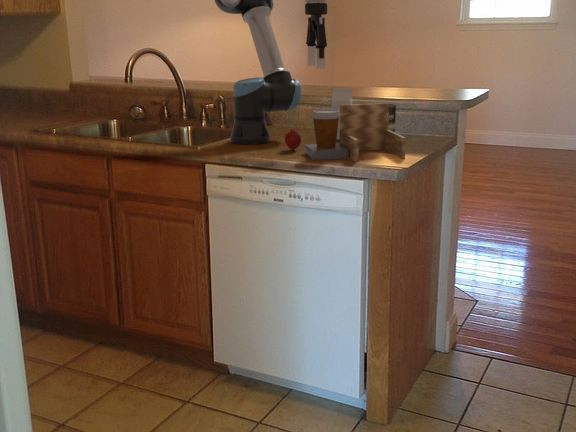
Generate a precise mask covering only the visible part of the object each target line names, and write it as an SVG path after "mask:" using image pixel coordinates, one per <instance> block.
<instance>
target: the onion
mask: <svg viewBox="0 0 576 432" xmlns="http://www.w3.org/2000/svg"><path fill="white" fill-rule="evenodd" d="M301 137H302V136H301V135H300V133H299V132H298V131H297V130H296V129H295V127H291V128H290V130H289V131H287V132H286V134H285V136H284V144H285V145H286V147H288V148H289V149H290V150H291V151H295V150H296V149H297V148H299V146H300V145H301V143H302V138H301Z"/></svg>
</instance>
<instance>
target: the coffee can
mask: <svg viewBox="0 0 576 432" xmlns="http://www.w3.org/2000/svg"><path fill="white" fill-rule="evenodd" d="M396 109H397V105H396V104H394V103H389V117H388V130H391V131H393V132H395V133H396V119H397V118H396V117H397V116H396V115H397V112H396V111H397V110H396Z"/></svg>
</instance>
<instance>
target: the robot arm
mask: <svg viewBox="0 0 576 432" xmlns="http://www.w3.org/2000/svg"><path fill="white" fill-rule="evenodd" d="M327 1H328V0H304V2H306V3H305V4H304V14H305V15H308V16H310V17H308V18H307V22H308V23H307V31H306V32H307V33H306V42H305V43H306V45H307V66H316V69H317V70H319V69H326V48H327V45H328V44H327V33H326V24H325V23H326V22H325V20H326V19H325V17H322V16H323V15H327V14H328V4H327V3H326V2H327ZM214 3H215V4H216V6H217V7H218V8H219V10H221V11H222V12H224V13H227V14H231V15H236V14H237V15H241V17H242V21H243V22H244V23H246V24H247V25H248V27H249V31H250V34H251V37H252V41H253V44H254V48H255V50H256V51H255V52H256V54H257V57H258V58H257V59H258V61H259V64H260V67H261V71H262V74H263V77H258V76H257V77H248V78H244V79H240V80H237V81H235V82H234V83H233V90H232V92H233V93H232V96H233V115H234V119H233V120H234V122H233V125H232V130H231V133H230V143H232V144H235V143H236V144H237V145H259V144H260V145H261V144H265V143H269V142H270V141H271V133H270V132H269V128H268V125H267V123H266V113H270V112H271V113H272V112H273V113H274V112H281V111H282V112H283V111H285V112H286V111H291V110H295V109H296V108H297V107H298V106H299V104H300V102H301V98H302V86H301V83H300V81H299V80H298V79H296V78H292V75H291V72H290V71H288V70H287V69H286V68H285V66H284V65H285V64H284V62H283V59H282V56H281V52H280V49H279V46H278V42H277V39H276V37H275V32H274V30H273V25H272V23H271V20H270V19H271V18H270V15H271V14H272V11H273V8H274V0H214Z"/></svg>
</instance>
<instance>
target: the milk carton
mask: <svg viewBox="0 0 576 432" xmlns="http://www.w3.org/2000/svg"><path fill="white" fill-rule="evenodd" d="M352 91H353V89H352V88H332V95H331V110H338V111H339V114H340V105H353V92H352ZM337 140H338V141H340V118H339V122H338V130H337V138H336V141H337Z"/></svg>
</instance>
